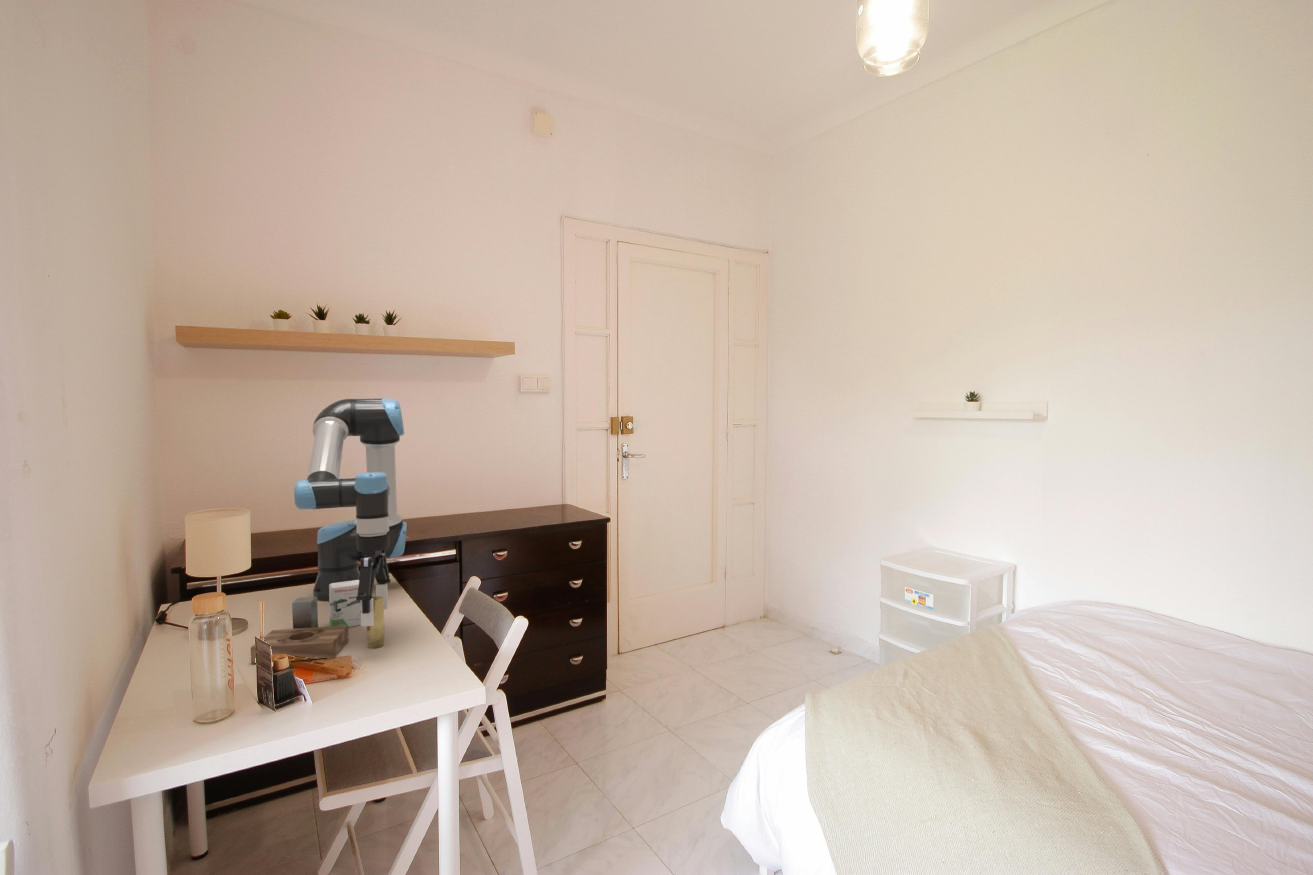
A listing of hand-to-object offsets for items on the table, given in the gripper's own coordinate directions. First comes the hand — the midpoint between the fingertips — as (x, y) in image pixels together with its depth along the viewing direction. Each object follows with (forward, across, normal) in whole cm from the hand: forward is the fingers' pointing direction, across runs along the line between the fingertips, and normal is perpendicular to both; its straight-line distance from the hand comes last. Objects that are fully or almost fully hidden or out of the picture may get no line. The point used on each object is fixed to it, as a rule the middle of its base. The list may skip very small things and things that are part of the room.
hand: (375, 616), depth 158 cm
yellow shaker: (+7, 0, 0) cm, 7 cm away
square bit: (+7, -10, -20) cm, 24 cm away
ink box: (+7, -18, -12) cm, 23 cm away
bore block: (+7, +1, -17) cm, 19 cm away
